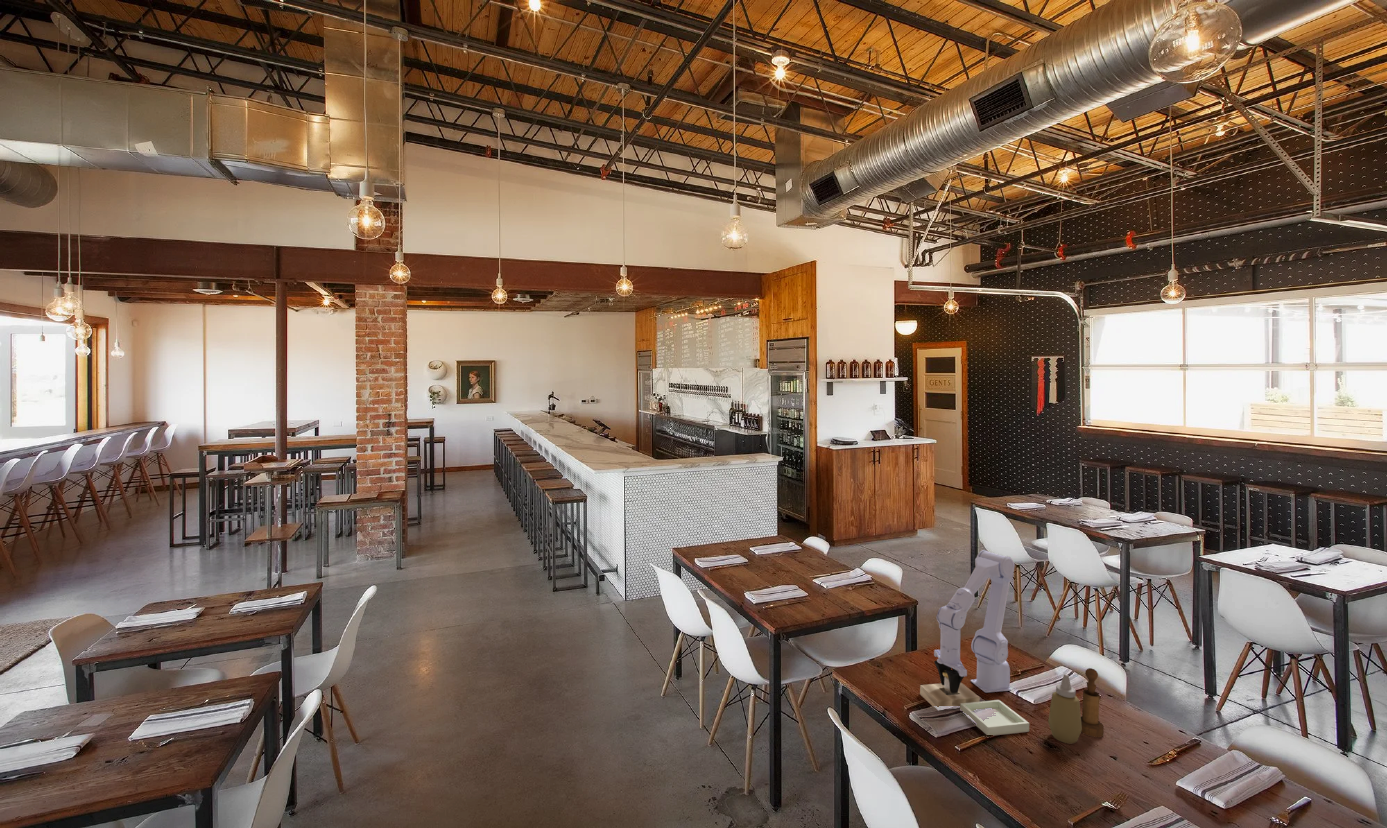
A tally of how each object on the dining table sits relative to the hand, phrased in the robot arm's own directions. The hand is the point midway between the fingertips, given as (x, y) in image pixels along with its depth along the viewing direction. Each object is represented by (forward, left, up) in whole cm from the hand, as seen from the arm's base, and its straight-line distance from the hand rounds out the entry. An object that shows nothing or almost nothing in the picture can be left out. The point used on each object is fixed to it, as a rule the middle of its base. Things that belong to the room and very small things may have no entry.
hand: (949, 688), depth 189 cm
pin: (0, 0, -4) cm, 4 cm away
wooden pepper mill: (-30, +22, -4) cm, 37 cm away
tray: (-6, +13, -4) cm, 15 cm away
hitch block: (0, 0, -4) cm, 4 cm away
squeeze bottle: (-20, +24, -4) cm, 32 cm away
